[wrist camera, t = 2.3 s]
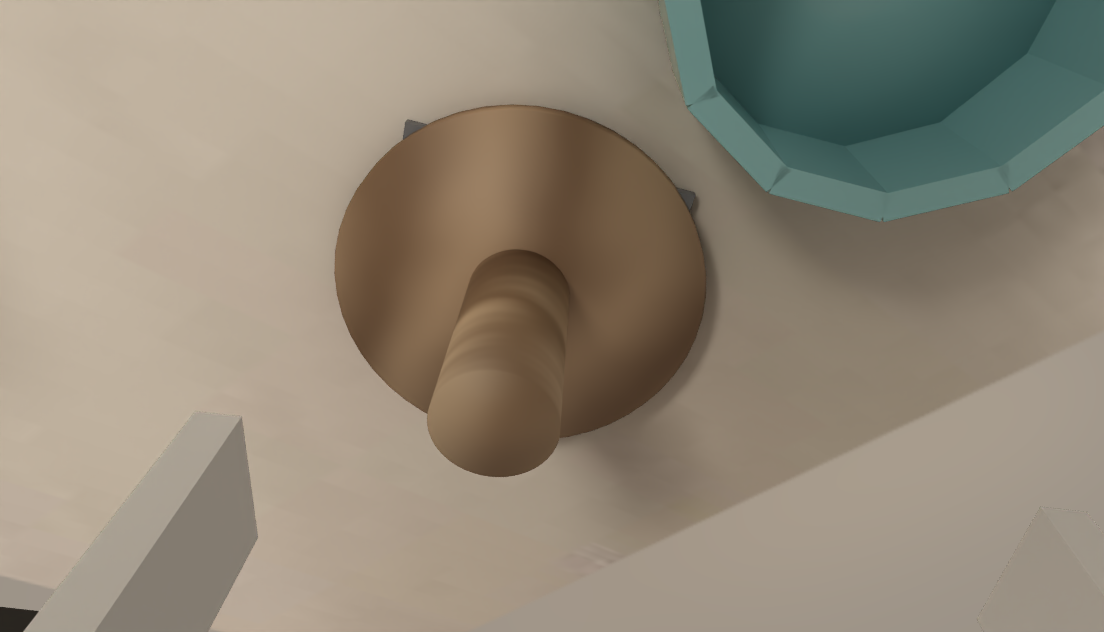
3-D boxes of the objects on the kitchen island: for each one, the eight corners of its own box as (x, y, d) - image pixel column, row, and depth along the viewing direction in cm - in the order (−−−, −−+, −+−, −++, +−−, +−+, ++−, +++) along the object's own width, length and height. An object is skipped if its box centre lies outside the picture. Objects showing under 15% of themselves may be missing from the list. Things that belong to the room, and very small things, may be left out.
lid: (324, 388, 37) (242, 541, 28) (361, 58, 29) (261, 133, 20) (641, 459, 38) (653, 627, 29) (760, 161, 30) (824, 273, 21)
